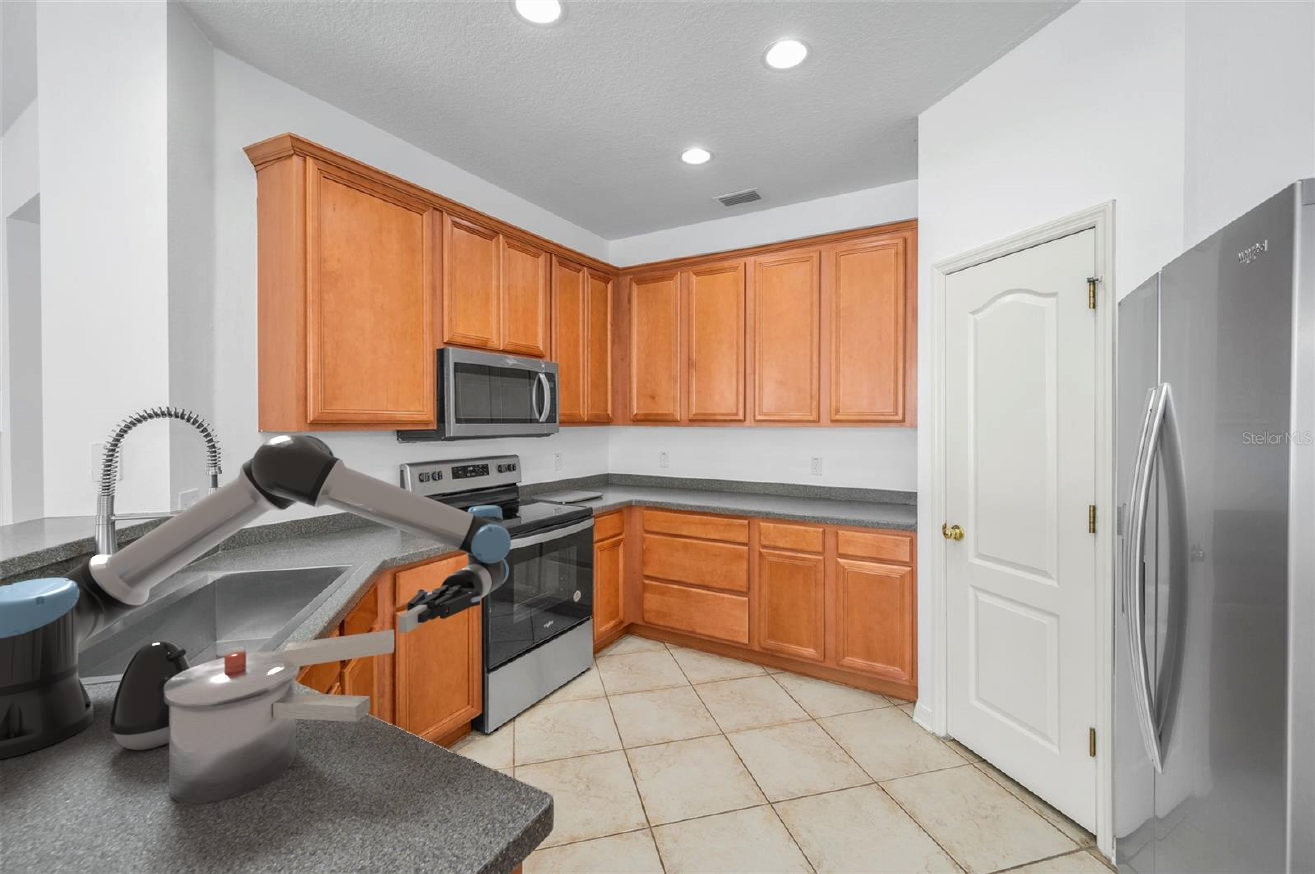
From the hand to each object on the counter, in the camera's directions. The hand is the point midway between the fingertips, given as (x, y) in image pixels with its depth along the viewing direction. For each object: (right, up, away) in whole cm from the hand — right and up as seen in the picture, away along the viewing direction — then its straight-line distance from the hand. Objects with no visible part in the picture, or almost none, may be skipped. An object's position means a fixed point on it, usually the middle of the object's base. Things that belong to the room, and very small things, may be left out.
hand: (402, 624), depth 93 cm
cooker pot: (-11, -15, -15) cm, 24 cm away
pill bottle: (-32, -16, +4) cm, 36 cm away
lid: (-11, -3, -12) cm, 17 cm away
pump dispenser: (-35, -16, -7) cm, 39 cm away
